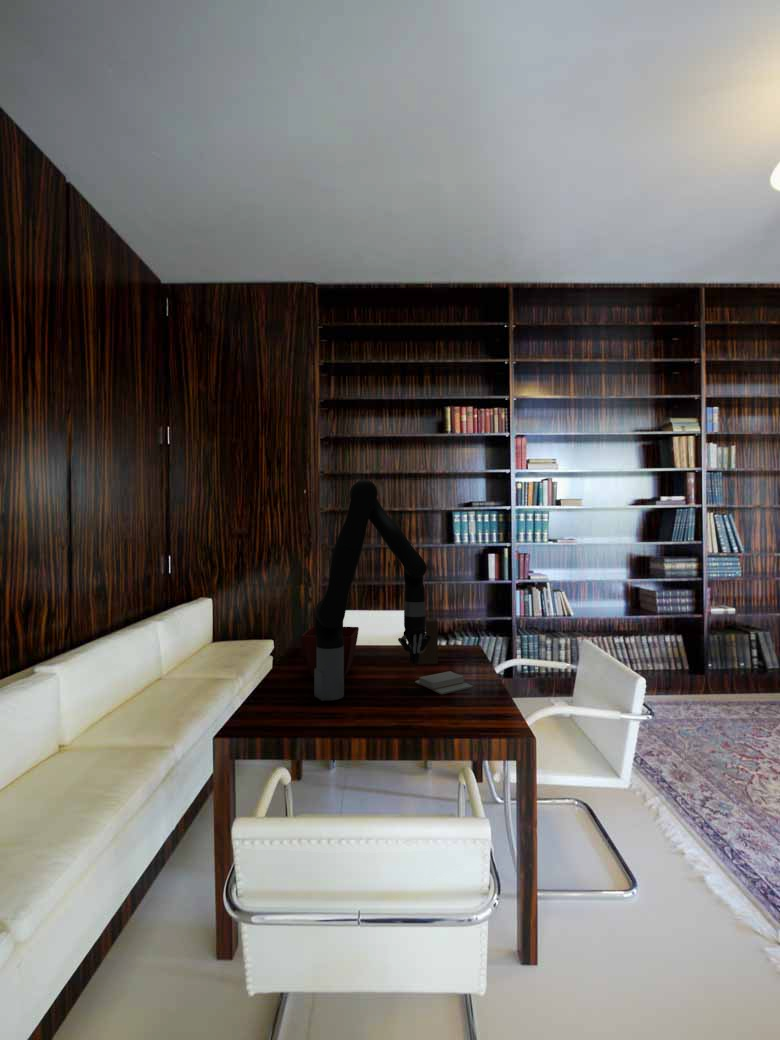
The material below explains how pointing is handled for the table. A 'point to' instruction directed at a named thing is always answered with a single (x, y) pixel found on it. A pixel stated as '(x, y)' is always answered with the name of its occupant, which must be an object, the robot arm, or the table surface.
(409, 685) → the table surface
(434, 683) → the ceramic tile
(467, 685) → the felt pad
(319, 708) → the table surface
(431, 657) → the wooden block
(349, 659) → the plant pot
